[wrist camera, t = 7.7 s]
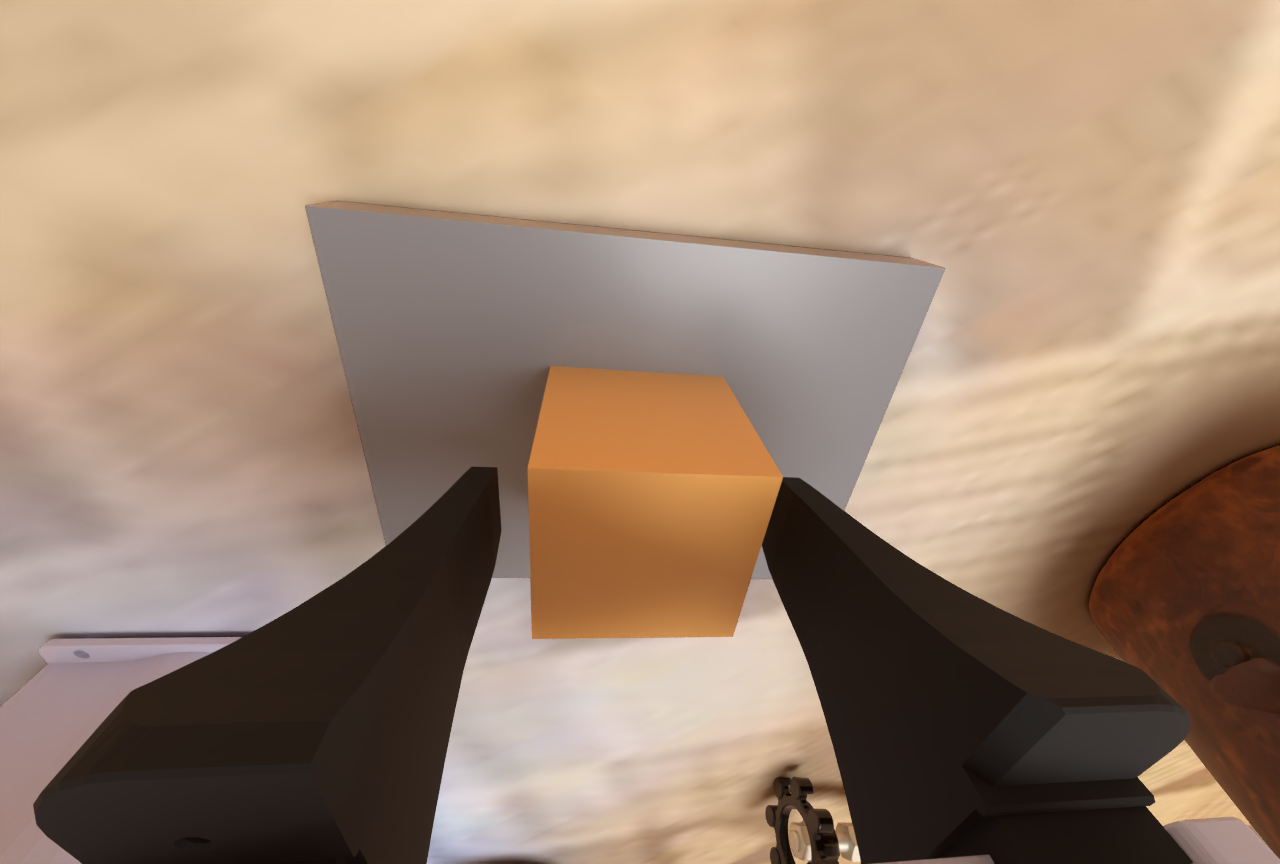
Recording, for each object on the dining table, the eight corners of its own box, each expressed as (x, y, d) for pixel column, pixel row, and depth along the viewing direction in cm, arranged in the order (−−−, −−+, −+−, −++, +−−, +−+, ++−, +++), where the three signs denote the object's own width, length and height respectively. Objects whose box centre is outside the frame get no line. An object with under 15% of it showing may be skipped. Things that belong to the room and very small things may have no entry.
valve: (949, 761, 32) (795, 753, 29) (1026, 892, 26) (844, 896, 23) (898, 805, 35) (755, 800, 32) (957, 930, 29) (789, 937, 27)
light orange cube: (549, 505, 15) (532, 638, 11) (550, 365, 13) (527, 467, 9) (695, 508, 16) (732, 636, 12) (723, 376, 13) (783, 477, 9)
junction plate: (408, 546, 18) (348, 670, 13) (336, 200, 12) (186, 222, 7) (801, 552, 20) (859, 661, 15) (912, 257, 14) (1058, 301, 9)
